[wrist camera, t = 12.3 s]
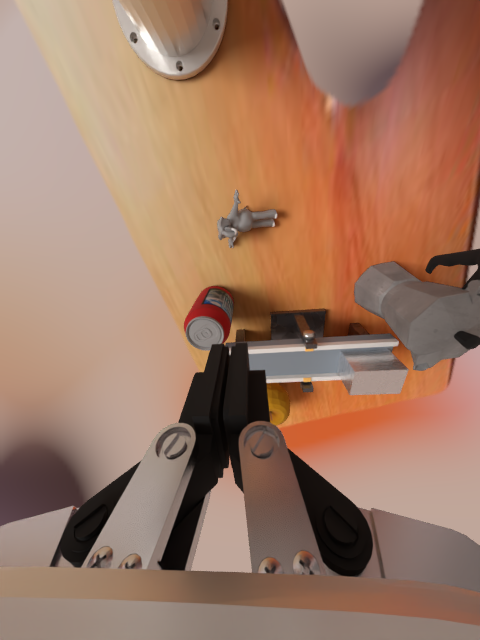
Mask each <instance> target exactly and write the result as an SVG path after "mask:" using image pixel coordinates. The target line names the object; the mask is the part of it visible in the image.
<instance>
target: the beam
mask: <svg viewBox="0 0 480 640" xmlns="http://www.w3.org/2000/svg"><path fill="white" fill-rule="evenodd" d="M315 340H316V342H317V344H318V345H317V349H306V348H305V345H304V343H303V341H302V339H285V340H268V341H250V342H247V343H248V353H249V365H250V370H265V373H266V383H279V382H302V381H303V382H311V381H325V380H341V378H340V377H339V375H338V373H337V369H338V363H339V356H340V350H356V349H377V348H387V349H388V350H389V351H390V352H391V353H392V350H393V346H398V343H399V341H398V340H397V339H396V338H394V337H393V336H392V335H391V334H372V335H355V336H337V337H320V338H315ZM236 343H245V342H233V343H226V345H225V347H227V346H228V347H229V353H230V354H231V347H232V346H236Z"/></svg>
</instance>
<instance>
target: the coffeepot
mask: <svg viewBox="0 0 480 640" xmlns="http://www.w3.org/2000/svg"><path fill="white" fill-rule="evenodd" d="M459 264H460V265H476V264H478V269H477V271H476V272H475V273H474V274H473V276H472V277H471V278H470V279H469V280H468V281H467V283H466V284H465V285H464V286H463V288H458V287H453V286H448V285H443V284H438V283H432V282H421V281H420V280H418V279H417V278H416V277H414V276H413V275H411V274H410V273H409V272H407V271H406V270H405V269H403V268H402V267H401V266H399V265H398V264H397V263H395V262H394V261H393V262H388V263H381V264H377V265H374V266H370V267H369V268H368V269H367V270H366V271H365V272H364V273H363V274H362V275H361V276H360V278H359V279H358V281H357V282H356V283H355V290H354V295H355V302H356V303H357V304H359V305H360V306H362V307H363V308H365V309H366V310H368V311H369V312H371V313H373V314H375V315H377V316H379V317H381V318H383V319H385V321H386V322H387V324H388V325H389V326H390V327H391V329H392V330H393V331H394V333H395V334H396V335H397V336H398V338H399V339H400V340H401V342H402V343H403V344H404V345H405V347H406V348H407V349H409V350H410V351H411V354H412V358H413V362H414V366H413V370H418V371H423V370H426V369H428V368H431V367H432V366H434V365H435V364H436V363H438V362H439V361H441V360H442V359H449V358H456V357H460V356H461V355H463V354H464V353H466V352H467V351H468V350H470V349H474V348H476V347H477V346H478V345H480V249H476V250H470V251H464V252H457V253H451V254H444V255H438V256H434V257H433V258H431V260H430V261H429V263H428V265H427V267H426V272H427V273H429V274H431V273H432V271H433V270H434V269H435V267H436V266H438V265H444V266H454V265H459Z"/></svg>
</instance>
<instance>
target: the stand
mask: <svg viewBox="0 0 480 640" xmlns="http://www.w3.org/2000/svg"><path fill="white" fill-rule="evenodd" d="M325 314H326V311H325V309H311V310H295V311H279V312H270V315H271V340H285V339H302V341H303V343H304V345H305V348H306V349H317V345H318V344H317V342H316V340H315V338H320V337H323V333H324V323H325ZM355 335H370V334H369V333H368V332H367V331H366V330H365V329H364V328H363V327H362V326H361V325H360V324H359V323H350V327H349V333H348V336H355ZM236 342H246V338H245V329H244V330H237V332H236ZM300 383H301V384H300V387H301V388H302V390H303V392H313V385H312V383H311V382H303V381H302V382H300Z"/></svg>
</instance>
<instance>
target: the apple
mask: <svg viewBox="0 0 480 640" xmlns="http://www.w3.org/2000/svg"><path fill="white" fill-rule="evenodd" d="M267 393H268V403H269V414H270V423H272V424H273V425H275V426H276V425H279V424H282V423H283V422H284V421H286V419H287V418H288V416H289V413H290V399H289V395H288V393H287V392H286V390H285V389H284V388H283V387H282V386H281V385H280V384H278V383H267Z"/></svg>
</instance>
